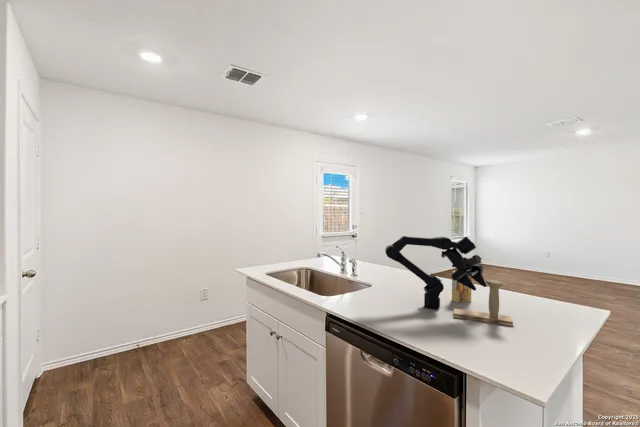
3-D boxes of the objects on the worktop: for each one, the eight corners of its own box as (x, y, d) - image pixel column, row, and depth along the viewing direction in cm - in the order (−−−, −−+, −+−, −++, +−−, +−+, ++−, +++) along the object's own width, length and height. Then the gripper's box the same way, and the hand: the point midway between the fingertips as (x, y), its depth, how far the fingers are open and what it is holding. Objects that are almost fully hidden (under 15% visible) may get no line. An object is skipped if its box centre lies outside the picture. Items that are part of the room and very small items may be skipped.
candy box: (466, 299, 155) (466, 270, 154) (471, 301, 151) (472, 271, 150) (451, 300, 153) (451, 270, 153) (456, 302, 149) (457, 272, 148)
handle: (494, 319, 122) (495, 283, 122) (483, 314, 128) (483, 279, 128) (504, 318, 123) (505, 283, 122) (492, 313, 129) (493, 279, 129)
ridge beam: (453, 318, 128) (453, 314, 128) (454, 310, 137) (454, 307, 137) (513, 327, 118) (513, 323, 118) (509, 318, 127) (509, 315, 127)
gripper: (458, 250, 128) (483, 281, 120) (479, 247, 139) (504, 275, 130) (441, 265, 135) (464, 295, 126) (463, 261, 146) (485, 288, 137)
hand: (480, 288), depth 130 cm, fingers open, 9 cm apart
